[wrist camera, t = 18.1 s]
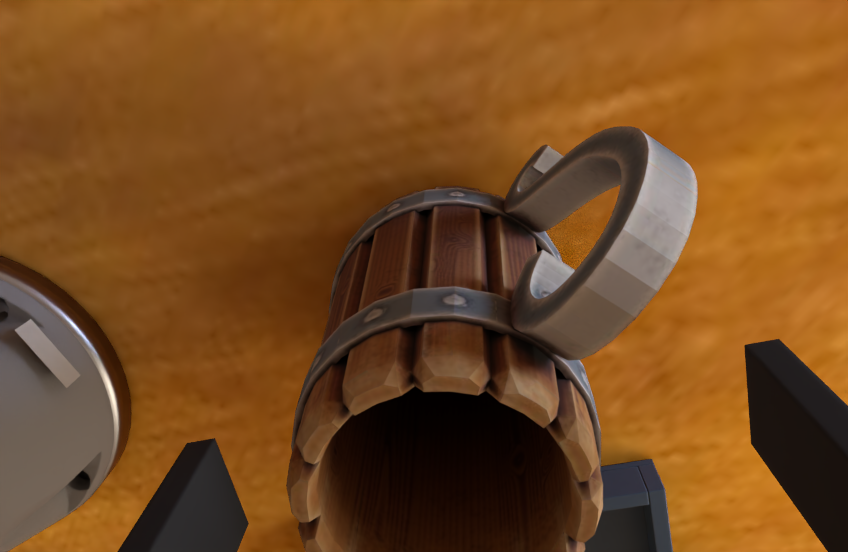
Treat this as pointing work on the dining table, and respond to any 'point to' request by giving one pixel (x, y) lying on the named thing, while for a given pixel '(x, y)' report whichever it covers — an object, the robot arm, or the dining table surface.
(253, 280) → the dining table surface
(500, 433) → the mug
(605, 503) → the tray
